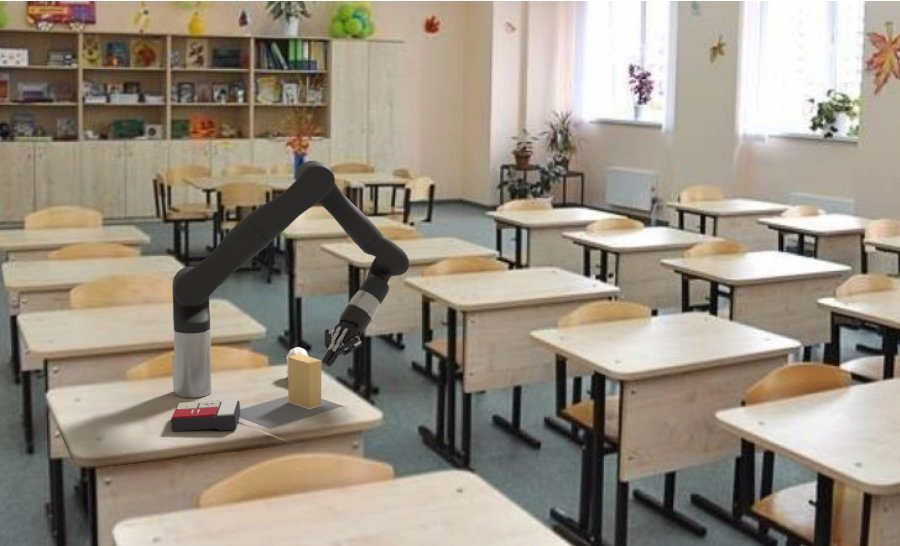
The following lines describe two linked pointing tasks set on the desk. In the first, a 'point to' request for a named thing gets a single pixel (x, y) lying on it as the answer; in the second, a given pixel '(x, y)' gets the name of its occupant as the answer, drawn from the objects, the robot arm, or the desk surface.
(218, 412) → the red and grey box
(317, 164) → the robot arm
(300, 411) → the charcoal mat
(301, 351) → the white figurine
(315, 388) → the ochre block
